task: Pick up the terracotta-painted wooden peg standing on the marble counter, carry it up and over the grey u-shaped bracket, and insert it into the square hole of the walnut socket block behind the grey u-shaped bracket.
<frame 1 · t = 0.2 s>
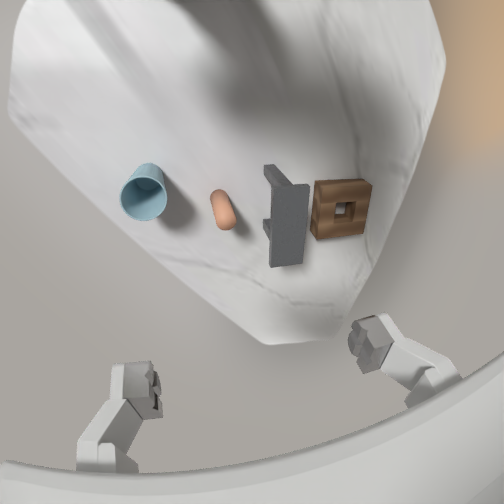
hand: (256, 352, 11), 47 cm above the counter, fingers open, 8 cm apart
cup: (148, 176, 53), on the counter
peg: (218, 197, 58), on the counter
grey u-shaped bracket: (268, 197, 61), on the counter
socket: (336, 204, 65), on the counter
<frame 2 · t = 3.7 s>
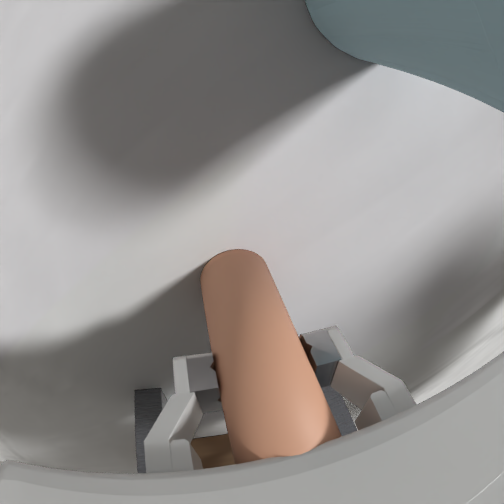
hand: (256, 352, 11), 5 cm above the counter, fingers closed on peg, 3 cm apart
cup: (360, 4, 9), on the counter
peg: (234, 278, 15), on the counter, touching gripper
grey u-shaped bracket: (231, 385, 20), on the counter
socket: (217, 452, 29), on the counter
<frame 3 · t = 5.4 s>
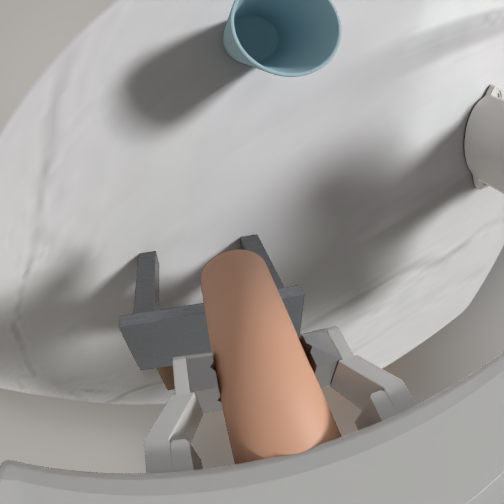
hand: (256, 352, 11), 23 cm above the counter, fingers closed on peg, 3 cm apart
cup: (250, 39, 23), on the counter
peg: (234, 278, 15), point 18 cm above the counter, touching gripper
grey u-shaped bracket: (199, 251, 35), on the counter
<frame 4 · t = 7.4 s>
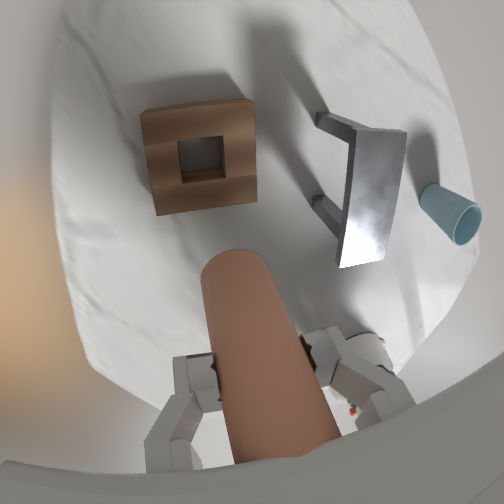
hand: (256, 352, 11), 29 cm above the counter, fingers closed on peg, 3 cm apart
cup: (429, 196, 47), on the counter
peg: (235, 278, 15), point 25 cm above the counter, touching gripper
grey u-shaped bracket: (321, 162, 39), on the counter
socket: (199, 150, 35), on the counter
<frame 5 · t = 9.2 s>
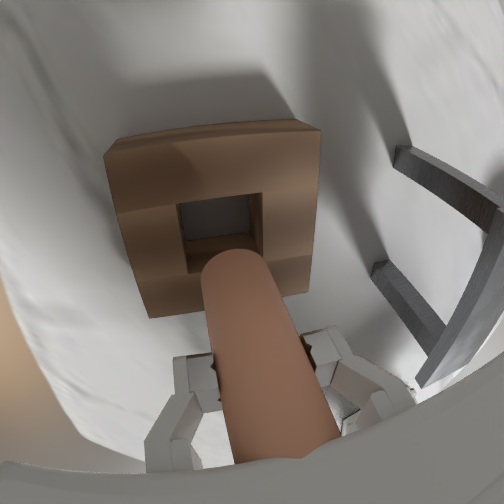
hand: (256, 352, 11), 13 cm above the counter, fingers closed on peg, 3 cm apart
peg: (235, 277, 15), point 8 cm above the counter, touching gripper
grey u-shaped bracket: (392, 218, 26), on the counter
socket: (214, 207, 22), on the counter
when the fingers open (6 cm above the counter, at t = 10.9 s): peg drops 1 cm, resting in socket.
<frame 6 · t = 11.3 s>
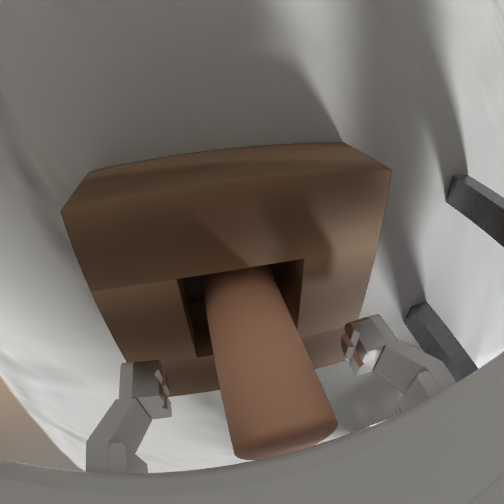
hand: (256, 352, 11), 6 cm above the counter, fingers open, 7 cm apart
peg: (230, 260, 16), resting in socket
grey u-shaped bracket: (437, 258, 20), on the counter
socket: (229, 260, 16), on the counter
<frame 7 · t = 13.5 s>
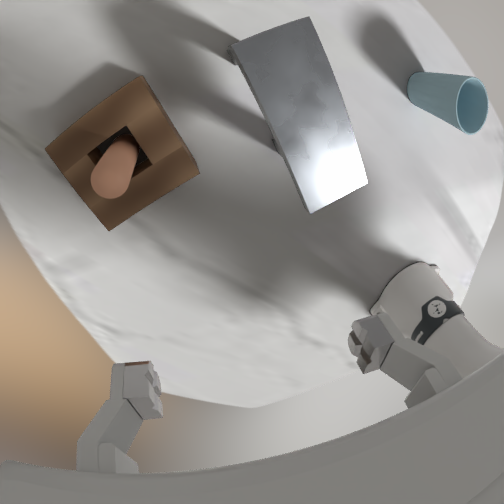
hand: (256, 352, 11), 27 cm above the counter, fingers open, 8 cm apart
cup: (418, 89, 34), on the counter
peg: (125, 148, 30), resting in socket
grey u-shaped bracket: (262, 99, 31), on the counter
socket: (124, 148, 30), on the counter
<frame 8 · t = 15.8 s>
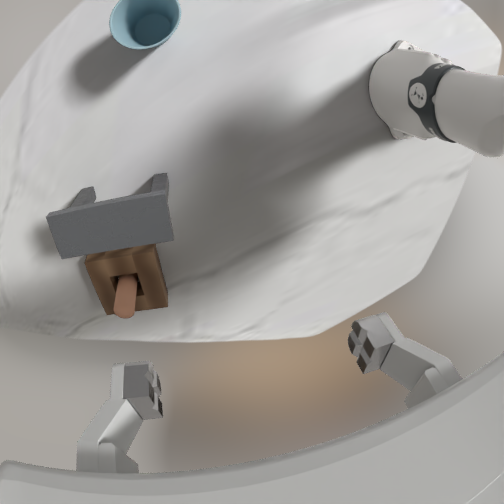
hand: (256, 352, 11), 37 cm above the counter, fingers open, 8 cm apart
cup: (153, 30, 31), on the counter
peg: (129, 271, 51), resting in socket
grey u-shaped bracket: (124, 186, 42), on the counter
socket: (129, 271, 51), on the counter
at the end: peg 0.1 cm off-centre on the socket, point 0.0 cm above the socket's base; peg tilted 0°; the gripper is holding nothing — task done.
